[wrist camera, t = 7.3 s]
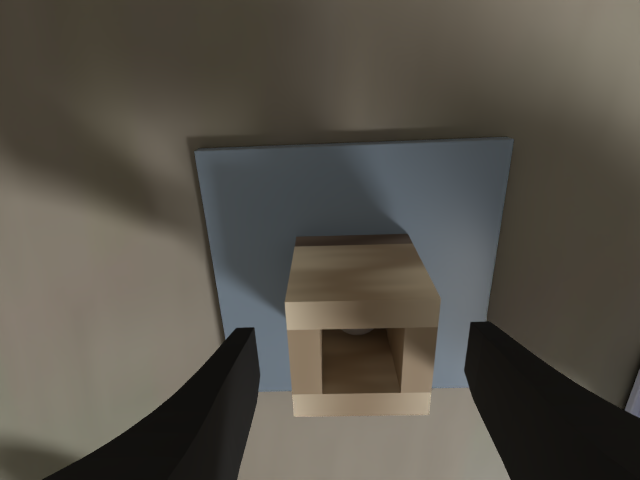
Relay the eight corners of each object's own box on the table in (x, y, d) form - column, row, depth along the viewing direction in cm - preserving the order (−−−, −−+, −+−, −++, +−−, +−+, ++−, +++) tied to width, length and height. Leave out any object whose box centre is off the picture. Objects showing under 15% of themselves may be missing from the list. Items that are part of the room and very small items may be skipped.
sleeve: (407, 233, 16) (441, 298, 11) (402, 326, 18) (429, 414, 13) (296, 236, 16) (284, 302, 12) (302, 328, 18) (294, 416, 13)
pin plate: (507, 136, 15) (549, 151, 12) (471, 378, 20) (495, 430, 17) (198, 148, 15) (170, 165, 12) (236, 383, 20) (222, 434, 17)
